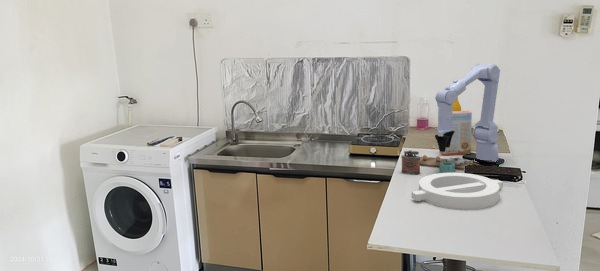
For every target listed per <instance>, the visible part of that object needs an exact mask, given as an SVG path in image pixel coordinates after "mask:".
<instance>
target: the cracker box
mask: <svg viewBox="0 0 600 271" xmlns="http://www.w3.org/2000/svg"><path fill="white" fill-rule="evenodd" d="M472 115H473V114H472V111H470V110H461V111H452V128H453V130H452V131H455V132H454V134H453V136H452V139H451V143H450V147H449V148H447V147H446V149H445V152H441V151H439V154H440V155H441V156H458V155H459V156H465V155H466V154H468V153H471V154H472V152H471V151H472V118H473V117H472ZM466 156H467V155H466Z"/></svg>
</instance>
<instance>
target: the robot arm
mask: <svg viewBox="0 0 600 271" xmlns="http://www.w3.org/2000/svg"><path fill="white" fill-rule="evenodd" d="M470 69H471V70H470V71H469V72H468V73H467V74H466V75H464V76H463V77H462V78H461V79H455V80H453V81H452V83H451V84H449V85H448V86H446V87H445V88H444V89H440V90H438V92H437V93H436V95H435V97H434V99H435V101H436V103H437V105H436V106H437V108H438V112H437V113H438V114H437V127H435V131H437V134H435V135H434V138H435V140H436V143H437V146H438V150H439V152H440V151H441V152H445V149H446V147H447V148H449V147H450V143H451V139H452V136H453V134H454V132H455V131H452V130H453V128H452V110H453V103H454V102H455V100H456V98H457V96H458V97H459V96H460V95H461V94H462V93H464V92H465V91H466V89H467V86H469V85H470V84H472V83H473V82H475V81H476V80H477V81H479V82H480V83H482V84H483V85H484V90H483V96H482V103H481V104H482V105H481V113H480V119H479V121H477V122H476V123H475V124H474V128H473V131H472V137H473V139H474V140H475V142H476V146H475V147H476V148H475V149H476V150H475V151H476V152H475V158H477V159H480V160H492V161H495V162H496V161H497V160H498V161H499V157H500V156H499V153H500V152H499V147H500V145H499V142H496V141H497V139H498V138H499V132H498V128H499V126H498V125H497V124H496V123H495V122H494V117H495V110H496V102H497V94H498V88H499V80H500V73H501V69H500V68H499V66H498V65H497V64H487V63H486V64H482V63H481V64H480V63H476V64H474V65H473V66H472V67H471V68H470ZM498 161H497V162H498ZM473 162H474V163H478V162H477V161H475V159H474V160H473Z"/></svg>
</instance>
